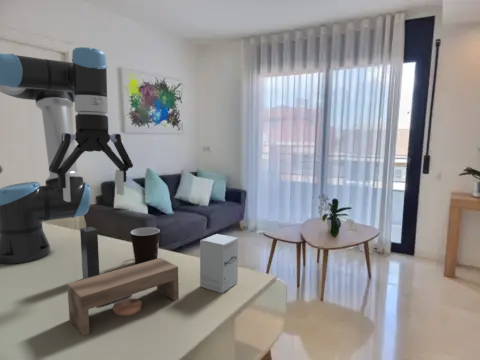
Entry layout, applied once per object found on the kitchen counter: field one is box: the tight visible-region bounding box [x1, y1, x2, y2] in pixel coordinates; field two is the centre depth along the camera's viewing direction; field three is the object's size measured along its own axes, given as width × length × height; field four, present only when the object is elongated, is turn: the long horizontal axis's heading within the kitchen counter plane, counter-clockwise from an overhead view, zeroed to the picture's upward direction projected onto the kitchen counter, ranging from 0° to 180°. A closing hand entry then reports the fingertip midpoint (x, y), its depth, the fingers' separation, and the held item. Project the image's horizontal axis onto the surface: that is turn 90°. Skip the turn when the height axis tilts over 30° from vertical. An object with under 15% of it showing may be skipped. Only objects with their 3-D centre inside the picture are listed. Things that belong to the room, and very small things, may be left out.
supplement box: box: [199, 233, 239, 294], centre depth 87 cm, size 7×7×13 cm
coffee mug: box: [130, 227, 161, 265], centre depth 103 cm, size 12×9×10 cm
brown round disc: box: [112, 297, 142, 317], centre depth 75 cm, size 6×6×1 cm
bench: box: [66, 257, 180, 337], centre depth 75 cm, size 8×22×8 cm, turn 134°
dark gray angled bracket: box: [79, 226, 133, 307], centre depth 84 cm, size 18×7×14 cm, turn 44°
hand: (95, 197), depth 86 cm, fingers open, 13 cm apart
